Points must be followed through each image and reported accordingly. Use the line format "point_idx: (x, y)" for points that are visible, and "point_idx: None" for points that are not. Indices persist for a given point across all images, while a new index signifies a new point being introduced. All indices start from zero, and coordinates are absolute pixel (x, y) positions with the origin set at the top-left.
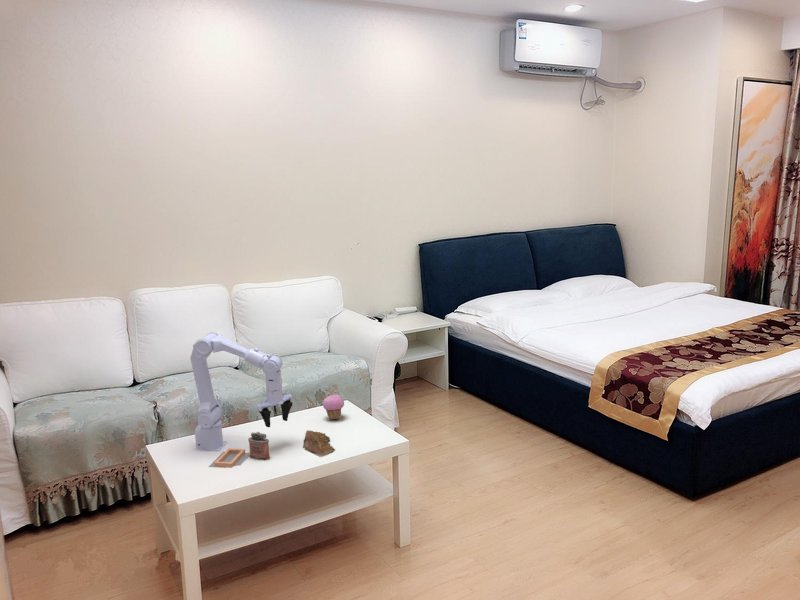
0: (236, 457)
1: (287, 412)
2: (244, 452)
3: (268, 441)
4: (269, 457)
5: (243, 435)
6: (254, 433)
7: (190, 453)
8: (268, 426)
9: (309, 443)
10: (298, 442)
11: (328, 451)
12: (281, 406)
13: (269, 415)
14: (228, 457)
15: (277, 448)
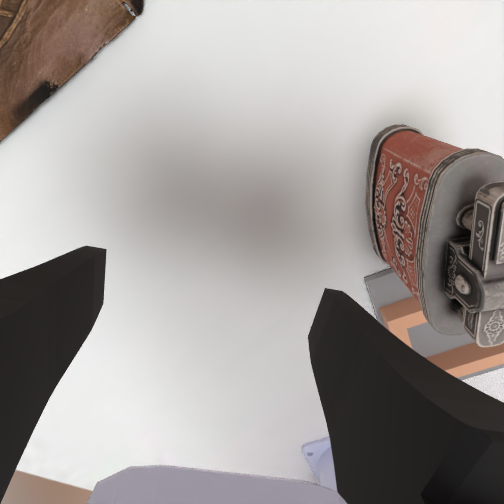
0: None
1: (30, 288)
2: (394, 308)
3: (456, 155)
4: (394, 131)
5: (210, 441)
6: (498, 316)
7: None
8: (349, 298)
9: (44, 19)
10: (81, 137)
11: None
12: (9, 464)
13: (424, 380)
14: (455, 339)
15: (232, 201)
